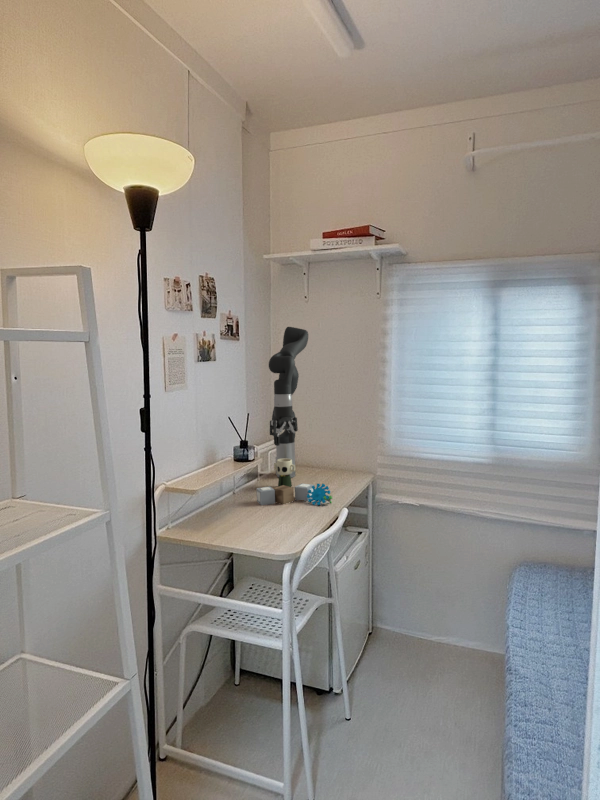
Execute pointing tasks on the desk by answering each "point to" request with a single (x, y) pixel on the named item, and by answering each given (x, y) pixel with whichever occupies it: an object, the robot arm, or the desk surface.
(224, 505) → the desk surface
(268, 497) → the grey block front
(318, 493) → the gear
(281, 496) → the walnut block
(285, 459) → the character mug
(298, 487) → the grey block back
